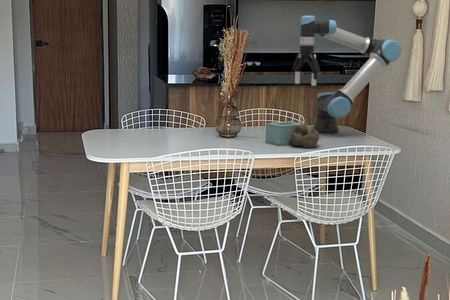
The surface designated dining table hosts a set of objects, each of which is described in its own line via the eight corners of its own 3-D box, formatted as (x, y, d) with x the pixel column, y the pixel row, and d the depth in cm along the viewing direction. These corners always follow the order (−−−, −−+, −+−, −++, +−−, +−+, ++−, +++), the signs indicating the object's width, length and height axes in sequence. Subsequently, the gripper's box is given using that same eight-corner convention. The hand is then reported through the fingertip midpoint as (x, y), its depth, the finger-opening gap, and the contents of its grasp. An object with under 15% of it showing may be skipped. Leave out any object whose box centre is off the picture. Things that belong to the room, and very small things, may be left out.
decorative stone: (304, 139, 287) (286, 123, 298) (298, 157, 293) (281, 142, 303) (329, 134, 295) (311, 119, 306) (323, 153, 301) (306, 137, 311)
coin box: (289, 139, 318) (290, 121, 316) (304, 143, 308) (304, 124, 306) (265, 142, 309) (265, 123, 307) (279, 145, 299) (280, 126, 297)
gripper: (286, 44, 328) (285, 83, 332) (317, 45, 308) (315, 86, 312) (297, 44, 332) (295, 82, 336) (328, 45, 312) (326, 86, 316)
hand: (305, 84), depth 324 cm, fingers open, 13 cm apart
